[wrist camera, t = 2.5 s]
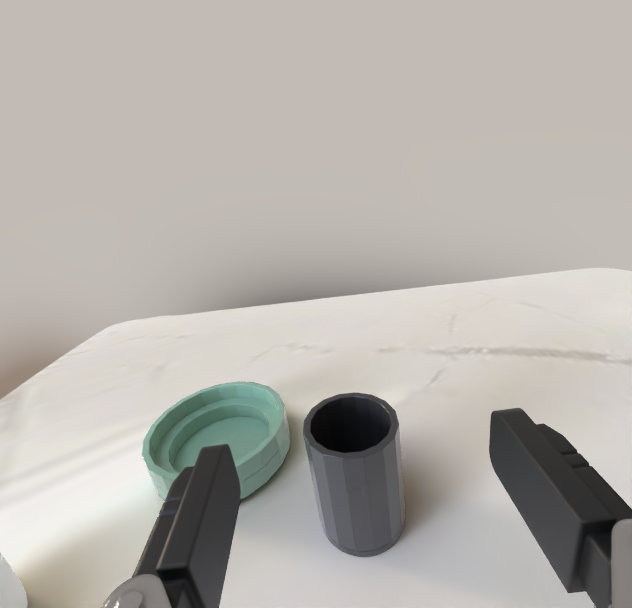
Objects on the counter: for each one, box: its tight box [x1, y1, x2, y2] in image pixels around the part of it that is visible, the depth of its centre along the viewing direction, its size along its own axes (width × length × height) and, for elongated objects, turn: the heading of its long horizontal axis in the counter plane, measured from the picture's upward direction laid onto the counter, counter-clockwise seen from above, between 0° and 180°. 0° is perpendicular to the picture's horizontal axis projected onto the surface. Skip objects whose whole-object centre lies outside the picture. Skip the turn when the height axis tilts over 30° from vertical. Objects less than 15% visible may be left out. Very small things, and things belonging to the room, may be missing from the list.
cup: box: [303, 393, 405, 556], centre depth 26 cm, size 6×6×9 cm
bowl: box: [142, 382, 290, 500], centre depth 35 cm, size 13×13×4 cm
